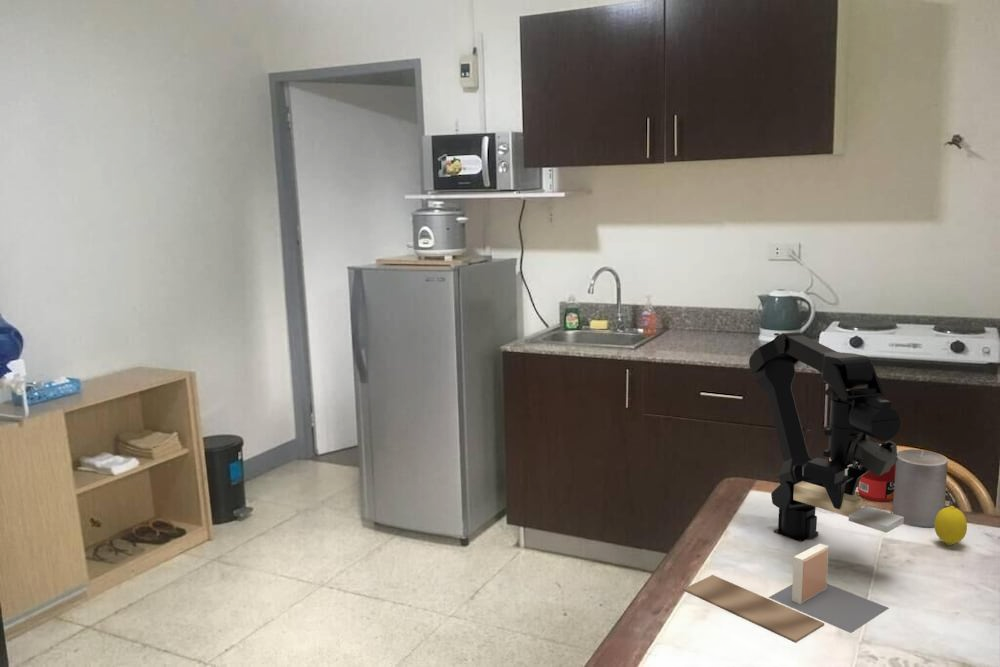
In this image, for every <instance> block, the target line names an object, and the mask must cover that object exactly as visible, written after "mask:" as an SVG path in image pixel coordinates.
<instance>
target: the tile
mask: <svg viewBox="0 0 1000 667" xmlns="http://www.w3.org/2000/svg"><path fill="white" fill-rule="evenodd" d="M828 561H829V545H826V544H823V543H818V544H816V545H814V546H812V547H810V548H808V549H806V550H804V551H802V552H801V553H798V554H796V555H795V556H793V565H792V566H793V567H792V569H793V570H792V571H793V572H792V584H793V586H792V601H794V602H796V603H799V604H801V603H803V602H805V601H807V600H808V599H810V598H812V597H814V596H815V595H817V594H819V593H821V592H822V591H824V590H826V585H827V584H828V582H827V581H828V579H827V578H828V566H829V564H828V563H829V562H828Z"/></svg>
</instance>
